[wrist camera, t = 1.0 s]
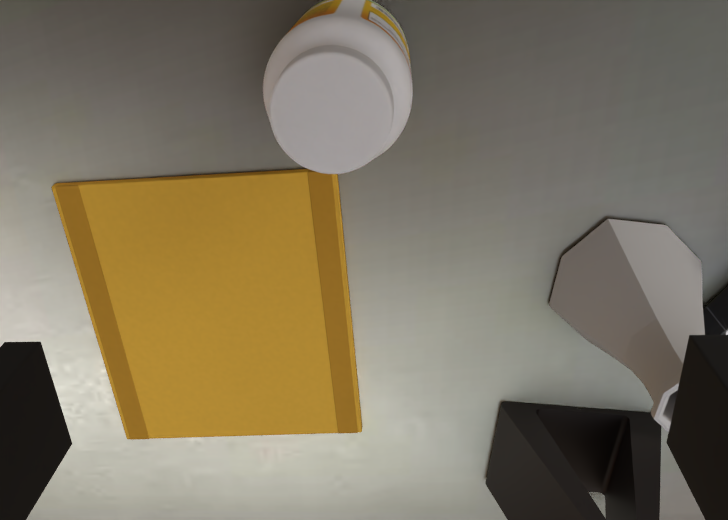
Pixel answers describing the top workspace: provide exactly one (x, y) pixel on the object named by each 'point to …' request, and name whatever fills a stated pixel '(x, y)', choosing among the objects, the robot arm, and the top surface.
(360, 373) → the top surface
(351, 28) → the supplement bottle
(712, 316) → the disk drive
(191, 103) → the top surface
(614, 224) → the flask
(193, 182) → the yellow tray
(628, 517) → the phone stand
